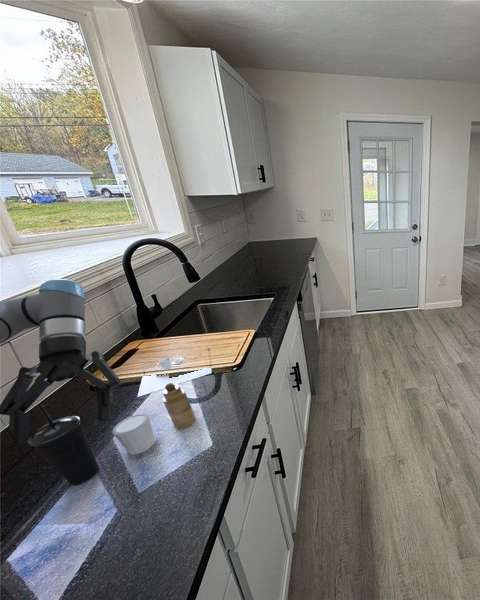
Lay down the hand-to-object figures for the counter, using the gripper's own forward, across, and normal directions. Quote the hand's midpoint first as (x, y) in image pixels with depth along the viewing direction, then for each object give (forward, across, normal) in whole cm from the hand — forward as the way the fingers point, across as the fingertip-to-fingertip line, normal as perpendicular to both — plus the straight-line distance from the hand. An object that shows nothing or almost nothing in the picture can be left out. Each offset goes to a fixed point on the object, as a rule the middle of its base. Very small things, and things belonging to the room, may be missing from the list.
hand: (64, 432), depth 67 cm
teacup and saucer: (-18, -12, -34) cm, 40 cm away
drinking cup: (+9, 0, -7) cm, 11 cm away
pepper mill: (+4, -19, -12) cm, 22 cm away
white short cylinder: (+7, -10, -10) cm, 15 cm away
